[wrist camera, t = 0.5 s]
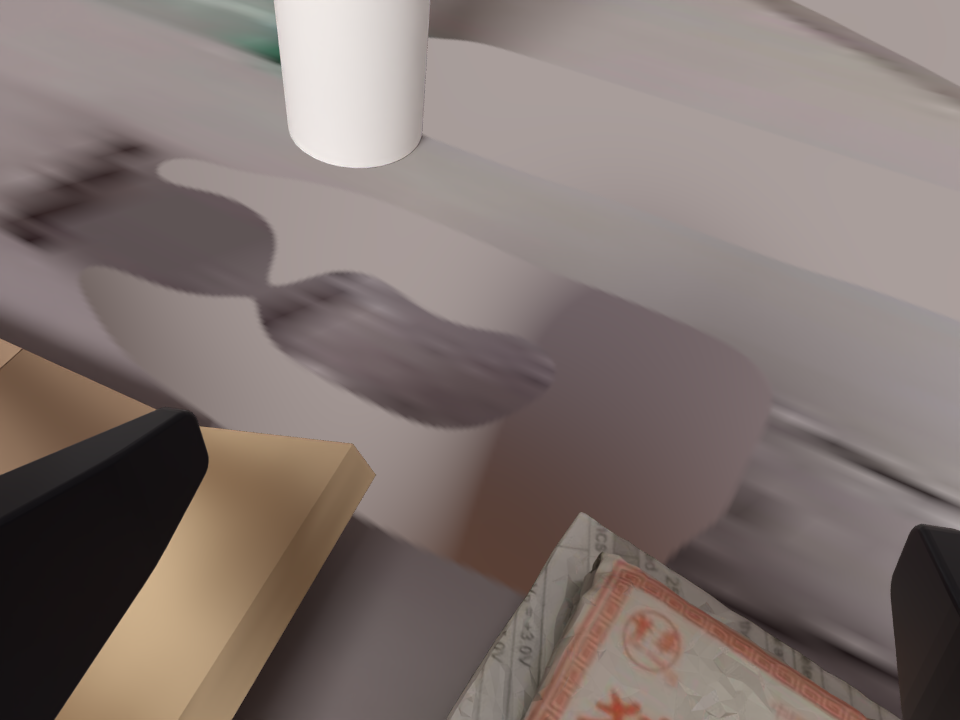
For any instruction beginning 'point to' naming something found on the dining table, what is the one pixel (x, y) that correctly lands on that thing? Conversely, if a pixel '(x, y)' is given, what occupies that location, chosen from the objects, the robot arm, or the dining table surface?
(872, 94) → the dining table surface
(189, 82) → the dining table surface
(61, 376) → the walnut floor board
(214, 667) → the oak plank
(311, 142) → the cylindrical container
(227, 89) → the dining table surface
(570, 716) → the packaged product
